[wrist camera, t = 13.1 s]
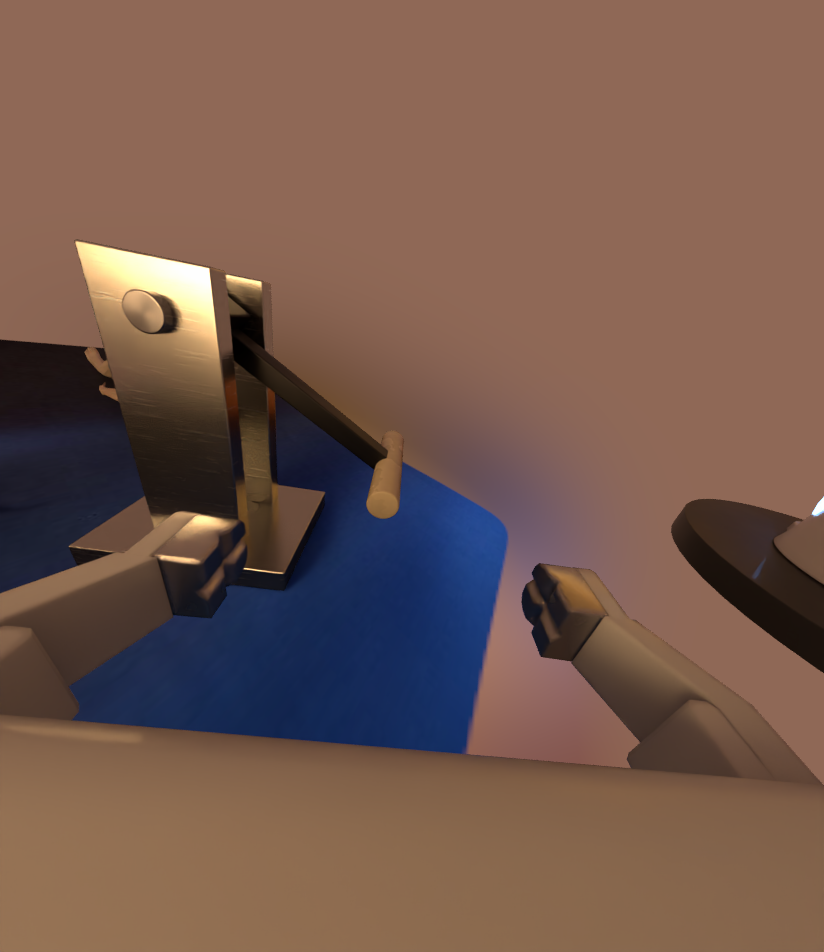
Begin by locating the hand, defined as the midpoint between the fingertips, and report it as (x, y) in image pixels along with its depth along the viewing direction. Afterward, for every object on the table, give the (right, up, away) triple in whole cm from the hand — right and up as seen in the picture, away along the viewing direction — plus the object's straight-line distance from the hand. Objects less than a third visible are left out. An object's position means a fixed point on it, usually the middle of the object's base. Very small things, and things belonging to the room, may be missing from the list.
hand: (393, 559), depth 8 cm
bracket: (-11, -1, +10) cm, 15 cm away
